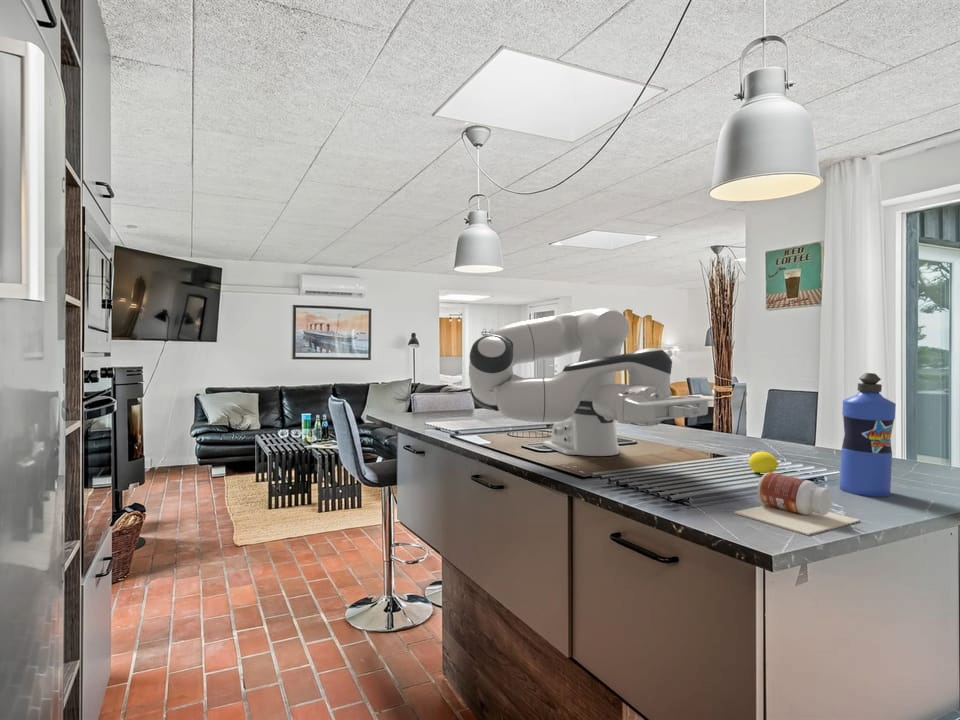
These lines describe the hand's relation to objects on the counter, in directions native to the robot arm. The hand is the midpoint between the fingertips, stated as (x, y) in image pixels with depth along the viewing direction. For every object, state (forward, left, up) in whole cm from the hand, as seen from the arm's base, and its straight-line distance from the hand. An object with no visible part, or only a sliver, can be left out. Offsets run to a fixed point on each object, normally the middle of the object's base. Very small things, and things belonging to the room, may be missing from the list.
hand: (695, 412), depth 123 cm
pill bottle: (+14, +3, -13) cm, 19 cm away
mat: (+21, +2, -16) cm, 27 cm away
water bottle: (+17, +34, -16) cm, 41 cm away
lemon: (-3, +29, -17) cm, 33 cm away
